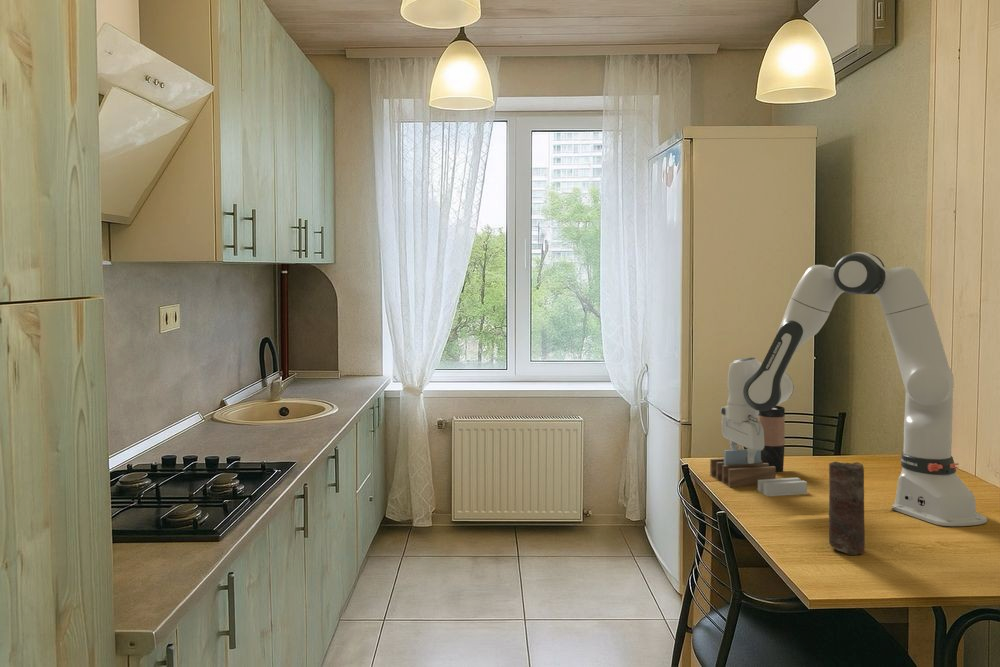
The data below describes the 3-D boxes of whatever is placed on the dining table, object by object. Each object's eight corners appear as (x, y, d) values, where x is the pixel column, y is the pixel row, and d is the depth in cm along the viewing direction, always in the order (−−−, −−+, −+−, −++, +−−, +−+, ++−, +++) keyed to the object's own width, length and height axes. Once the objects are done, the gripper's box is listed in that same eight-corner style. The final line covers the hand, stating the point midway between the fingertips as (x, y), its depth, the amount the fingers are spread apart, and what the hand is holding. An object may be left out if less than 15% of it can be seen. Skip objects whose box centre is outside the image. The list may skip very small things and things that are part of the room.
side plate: (760, 479, 239) (760, 449, 238) (725, 481, 237) (725, 451, 236) (758, 478, 240) (758, 448, 239) (723, 480, 238) (723, 450, 237)
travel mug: (787, 474, 248) (788, 409, 246) (762, 474, 248) (763, 409, 246) (779, 467, 255) (780, 405, 254) (755, 468, 256) (755, 405, 254)
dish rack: (776, 487, 233) (776, 467, 232) (730, 490, 230) (730, 470, 230) (753, 475, 246) (753, 456, 246) (709, 478, 244) (709, 458, 244)
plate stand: (808, 497, 223) (808, 482, 223) (768, 499, 221) (768, 485, 221) (795, 490, 230) (795, 476, 230) (755, 492, 228) (756, 478, 228)
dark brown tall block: (822, 549, 182) (823, 462, 180) (836, 541, 187) (837, 456, 186) (856, 558, 177) (858, 468, 175) (869, 549, 182) (871, 462, 180)
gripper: (770, 418, 227) (769, 467, 228) (737, 406, 247) (737, 451, 248) (749, 419, 226) (748, 468, 227) (717, 407, 246) (717, 452, 247)
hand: (742, 459), depth 238 cm, fingers open, 8 cm apart
